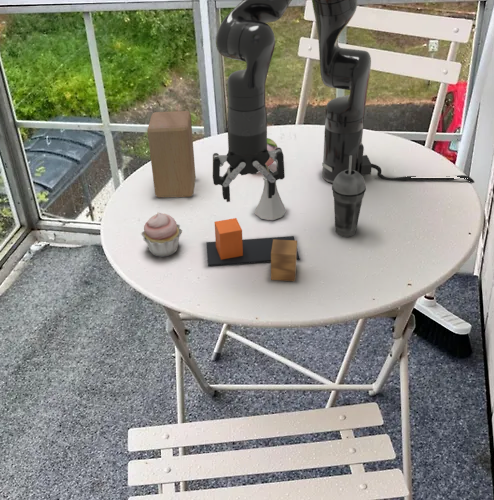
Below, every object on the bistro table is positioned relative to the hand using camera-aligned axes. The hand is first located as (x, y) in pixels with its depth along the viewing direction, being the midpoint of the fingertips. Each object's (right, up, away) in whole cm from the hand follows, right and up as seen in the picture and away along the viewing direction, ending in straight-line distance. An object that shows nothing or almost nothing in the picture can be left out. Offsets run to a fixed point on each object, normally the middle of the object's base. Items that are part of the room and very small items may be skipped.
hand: (248, 198), depth 135 cm
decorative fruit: (+8, +11, +42) cm, 45 cm away
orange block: (-3, -11, +12) cm, 17 cm away
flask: (+8, -2, +25) cm, 26 cm away
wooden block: (-15, +5, +38) cm, 41 cm away
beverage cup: (+24, -6, +16) cm, 29 cm away
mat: (+2, -11, +12) cm, 17 cm away
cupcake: (-18, -11, +16) cm, 26 cm away
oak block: (+8, -16, +5) cm, 18 cm away
